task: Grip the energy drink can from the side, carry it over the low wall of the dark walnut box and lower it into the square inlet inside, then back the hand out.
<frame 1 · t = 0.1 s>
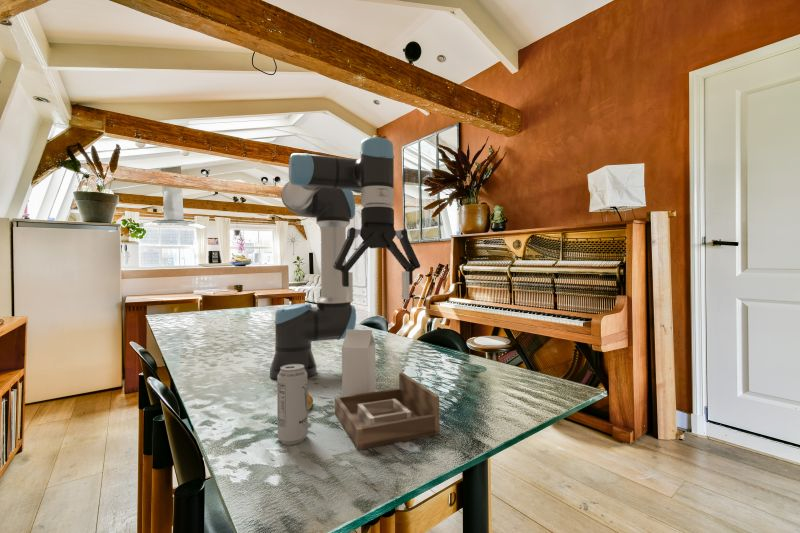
hand: (378, 300, 86), 28 cm above the table, tool pointing down, fingers open, 13 cm apart
walled box: (383, 423, 86), on the table
milk carton: (359, 402, 100), on the table
bread roll: (296, 409, 96), on the table
energy drink can: (292, 440, 78), on the table
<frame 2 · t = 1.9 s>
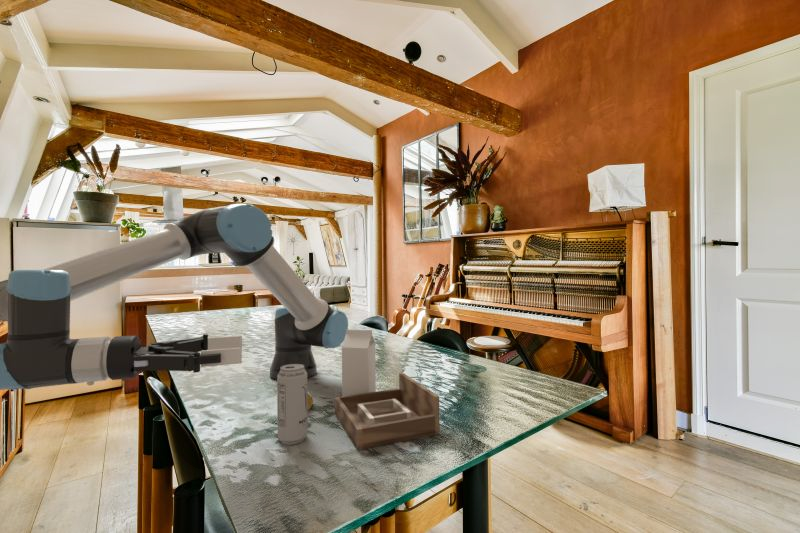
hand: (242, 348, 74), 20 cm above the table, tool horizontal, fingers open, 13 cm apart
nothing on the table moved.
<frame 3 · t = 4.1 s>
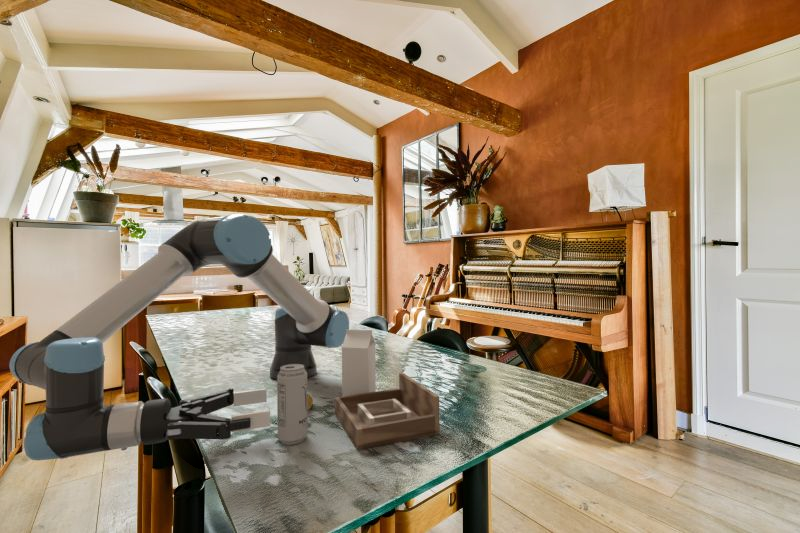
hand: (268, 405, 76), 8 cm above the table, tool horizontal, fingers open, 13 cm apart
nothing on the table moved.
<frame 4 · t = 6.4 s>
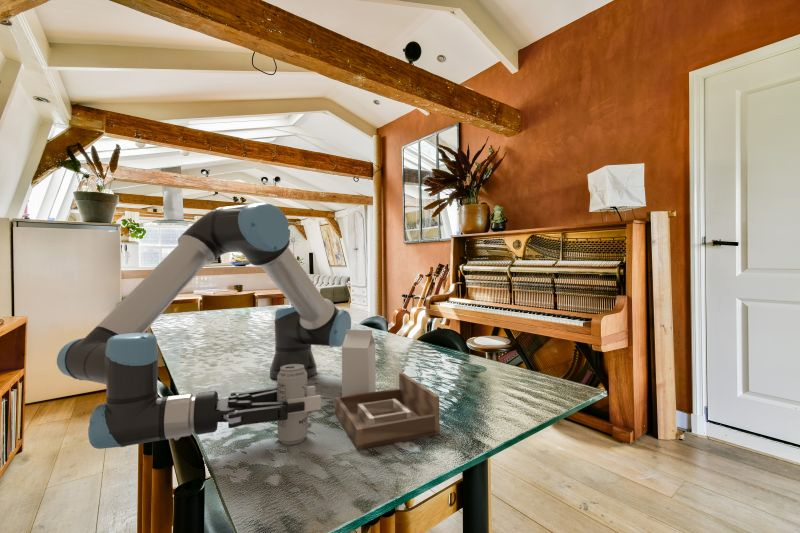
hand: (317, 397, 80), 8 cm above the table, tool horizontal, fingers closed on energy drink can, 6 cm apart
energy drink can: (292, 440, 78), on the table, touching gripper
everything else where it was.
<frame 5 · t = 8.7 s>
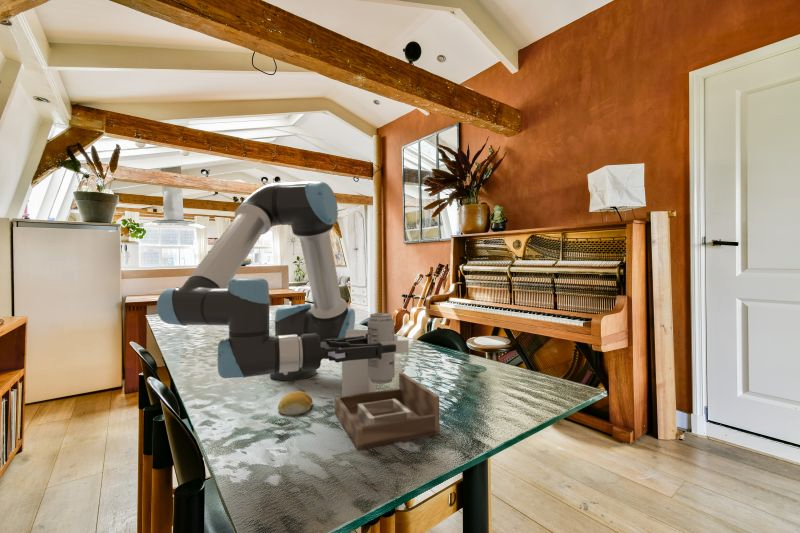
hand: (402, 343, 87), 18 cm above the table, tool horizontal, fingers closed on energy drink can, 6 cm apart
energy drink can: (381, 381, 85), point 10 cm above the table, touching gripper
everything else where it was.
when the fingers open (10 cm above the table, at t = 11.0 s): energy drink can stays where it is, resting on walled box.
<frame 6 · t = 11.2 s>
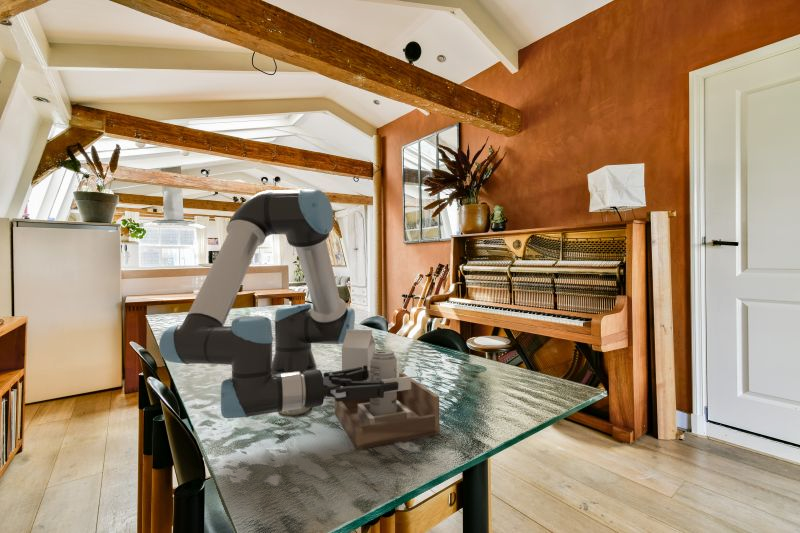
hand: (401, 376, 87), 10 cm above the table, tool horizontal, fingers open, 9 cm apart
energy drink can: (383, 419, 86), point 1 cm above the table, touching walled box
everything else where it was.
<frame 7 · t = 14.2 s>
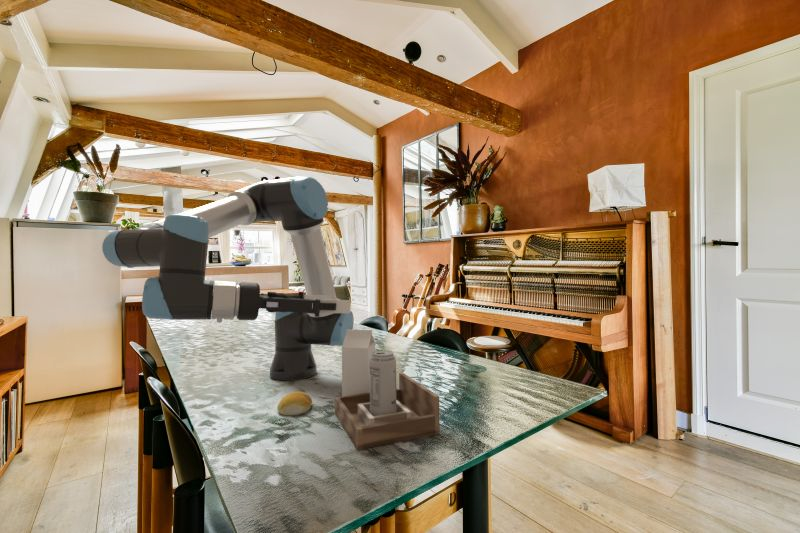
hand: (340, 303, 84), 27 cm above the table, tool horizontal, fingers open, 13 cm apart
nothing on the table moved.
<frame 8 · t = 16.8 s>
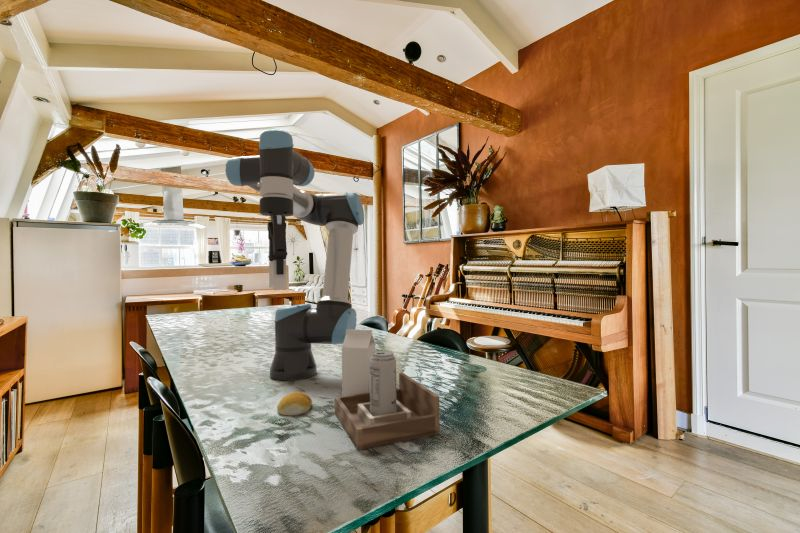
hand: (277, 288, 88), 31 cm above the table, tool pointing down, fingers open, 13 cm apart
nothing on the table moved.
at the end: energy drink can 0.0 cm off-centre on the walled box, point 0.8 cm above the walled box's base; energy drink can tilted 0°; the gripper is holding nothing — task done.
